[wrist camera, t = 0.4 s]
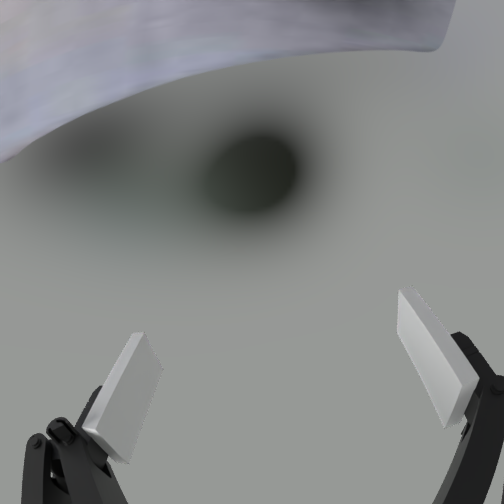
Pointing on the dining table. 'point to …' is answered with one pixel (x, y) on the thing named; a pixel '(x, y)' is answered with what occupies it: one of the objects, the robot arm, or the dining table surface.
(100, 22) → the dining table surface
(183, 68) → the dining table surface
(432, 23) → the dining table surface
